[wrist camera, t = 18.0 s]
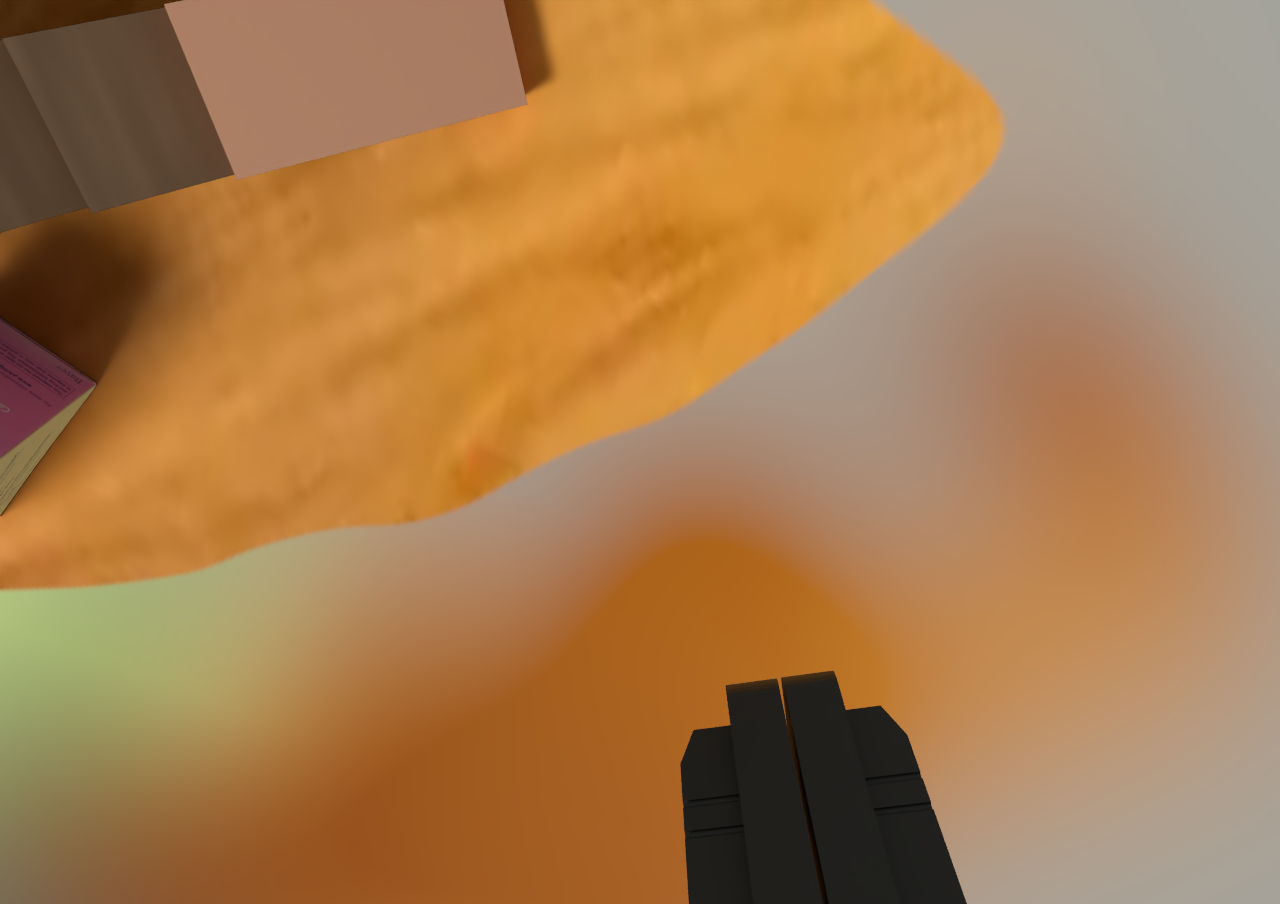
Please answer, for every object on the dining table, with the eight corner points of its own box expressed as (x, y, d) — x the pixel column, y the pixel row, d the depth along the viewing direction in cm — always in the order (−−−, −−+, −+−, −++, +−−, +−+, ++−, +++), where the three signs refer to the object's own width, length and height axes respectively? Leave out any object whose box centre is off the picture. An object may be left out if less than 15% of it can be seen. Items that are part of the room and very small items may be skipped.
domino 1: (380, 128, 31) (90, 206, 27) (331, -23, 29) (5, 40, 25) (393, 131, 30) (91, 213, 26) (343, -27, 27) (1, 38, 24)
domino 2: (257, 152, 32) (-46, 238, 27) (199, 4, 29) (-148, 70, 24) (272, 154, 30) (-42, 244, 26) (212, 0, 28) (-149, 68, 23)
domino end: (513, 101, 31) (234, 173, 28) (476, -55, 28) (165, 5, 25) (527, 104, 30) (236, 179, 27) (490, -59, 27) (163, 4, 24)
